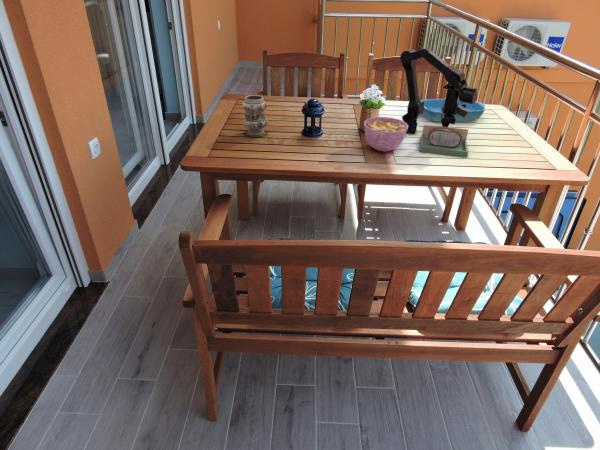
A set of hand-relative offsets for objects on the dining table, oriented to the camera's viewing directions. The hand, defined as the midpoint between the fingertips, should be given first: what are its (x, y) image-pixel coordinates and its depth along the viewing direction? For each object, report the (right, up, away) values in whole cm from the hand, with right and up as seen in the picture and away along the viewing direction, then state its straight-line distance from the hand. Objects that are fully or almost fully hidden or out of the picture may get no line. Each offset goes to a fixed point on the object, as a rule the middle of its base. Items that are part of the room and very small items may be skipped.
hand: (444, 131), depth 202 cm
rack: (-3, -9, -5) cm, 11 cm away
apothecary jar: (-92, 0, +6) cm, 93 cm away
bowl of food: (-31, -10, -7) cm, 33 cm away
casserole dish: (+14, +15, +31) cm, 37 cm away
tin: (-3, -8, -6) cm, 10 cm away
